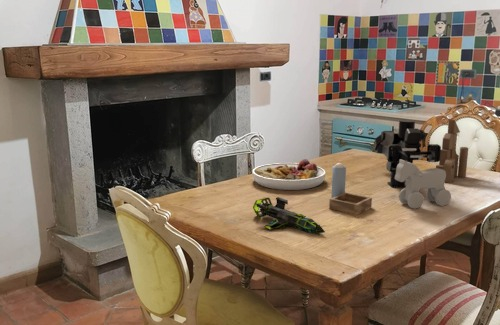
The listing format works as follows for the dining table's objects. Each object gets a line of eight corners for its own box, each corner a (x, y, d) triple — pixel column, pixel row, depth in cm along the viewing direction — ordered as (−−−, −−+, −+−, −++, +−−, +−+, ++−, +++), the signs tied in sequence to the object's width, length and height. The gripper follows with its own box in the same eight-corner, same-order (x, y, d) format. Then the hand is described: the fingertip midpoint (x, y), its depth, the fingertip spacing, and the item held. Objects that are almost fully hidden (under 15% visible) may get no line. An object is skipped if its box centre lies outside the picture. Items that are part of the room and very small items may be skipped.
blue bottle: (330, 198, 186) (331, 161, 183) (343, 198, 186) (344, 161, 183) (332, 202, 182) (333, 164, 178) (345, 202, 182) (347, 164, 179)
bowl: (300, 197, 189) (300, 176, 187) (237, 184, 207) (237, 165, 205) (338, 180, 212) (338, 162, 211) (278, 170, 230) (279, 153, 228)
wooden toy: (450, 183, 206) (455, 122, 200) (434, 180, 211) (439, 120, 205) (467, 176, 216) (472, 118, 211) (451, 174, 221) (456, 117, 215)
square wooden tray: (344, 201, 182) (345, 192, 181) (371, 207, 175) (371, 197, 175) (329, 208, 174) (329, 199, 173) (356, 215, 168) (357, 204, 167)
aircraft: (306, 250, 144) (307, 229, 142) (238, 221, 163) (239, 202, 161) (341, 235, 156) (343, 215, 154) (275, 209, 175) (276, 191, 173)
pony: (403, 212, 170) (406, 163, 167) (387, 203, 180) (390, 157, 176) (454, 207, 176) (458, 159, 172) (436, 198, 185) (439, 153, 182)
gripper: (383, 127, 188) (395, 135, 173) (434, 127, 188) (450, 135, 172) (382, 156, 190) (393, 167, 175) (431, 156, 190) (447, 167, 175)
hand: (421, 158), depth 175 cm, fingers open, 9 cm apart
